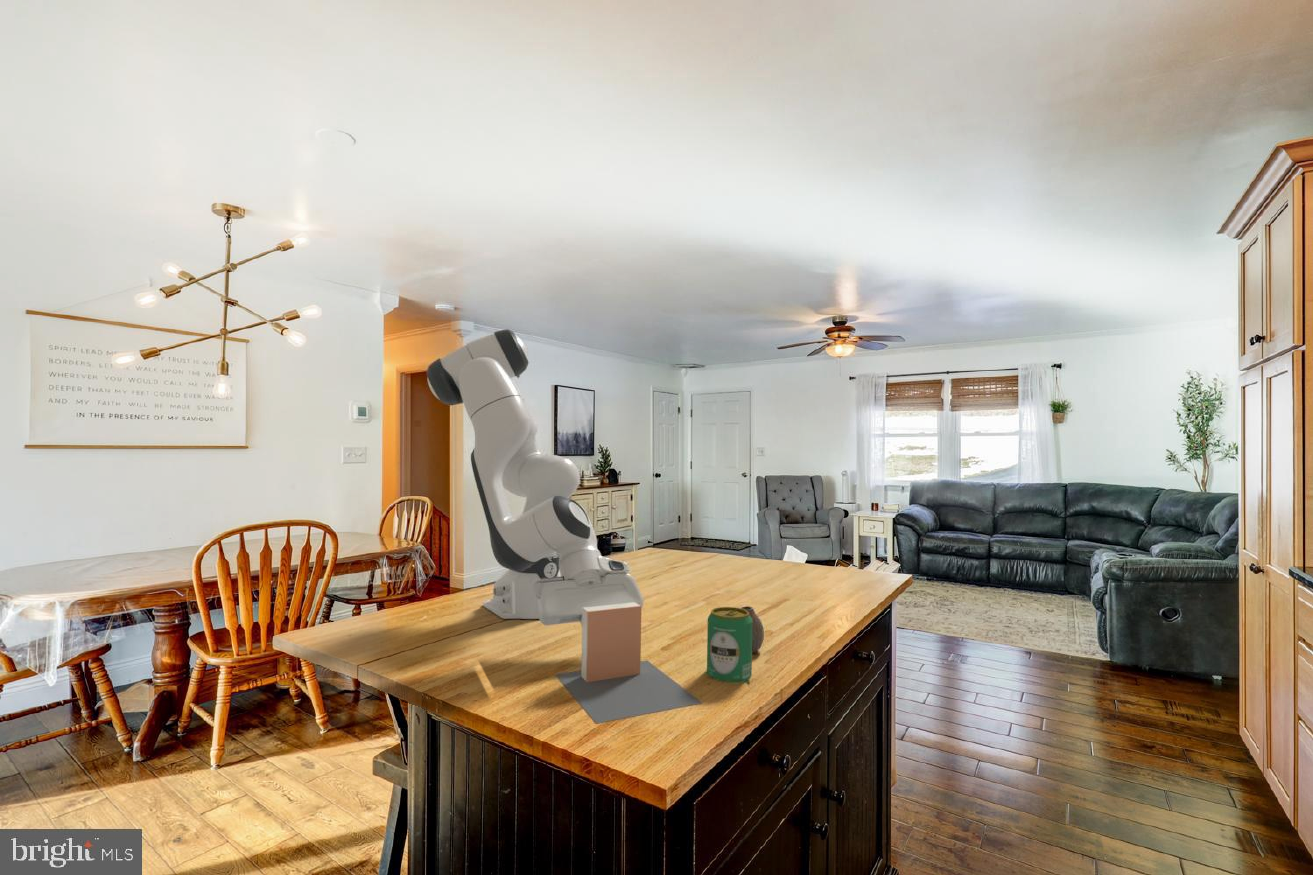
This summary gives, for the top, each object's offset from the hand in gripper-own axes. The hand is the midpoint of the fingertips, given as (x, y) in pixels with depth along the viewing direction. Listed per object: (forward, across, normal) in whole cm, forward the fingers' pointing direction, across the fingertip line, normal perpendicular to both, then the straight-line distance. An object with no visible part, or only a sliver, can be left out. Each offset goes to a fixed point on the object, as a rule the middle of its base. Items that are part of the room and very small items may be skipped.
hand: (600, 638), depth 113 cm
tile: (+7, 0, 0) cm, 7 cm away
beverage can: (+13, +20, -5) cm, 25 cm away
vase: (+5, +32, +4) cm, 32 cm away
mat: (+12, 0, -4) cm, 13 cm away
